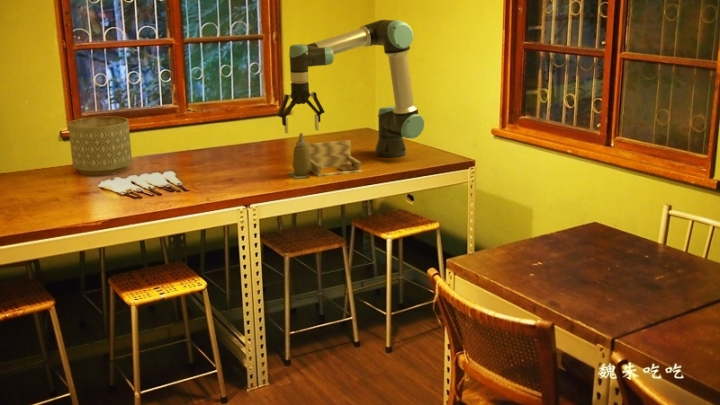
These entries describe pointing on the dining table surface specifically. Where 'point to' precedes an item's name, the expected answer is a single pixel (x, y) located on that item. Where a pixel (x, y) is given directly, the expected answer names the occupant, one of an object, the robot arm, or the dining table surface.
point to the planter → (100, 145)
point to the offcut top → (346, 164)
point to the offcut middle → (346, 168)
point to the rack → (331, 157)
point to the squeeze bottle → (301, 157)
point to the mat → (297, 176)
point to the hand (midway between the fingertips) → (301, 131)
